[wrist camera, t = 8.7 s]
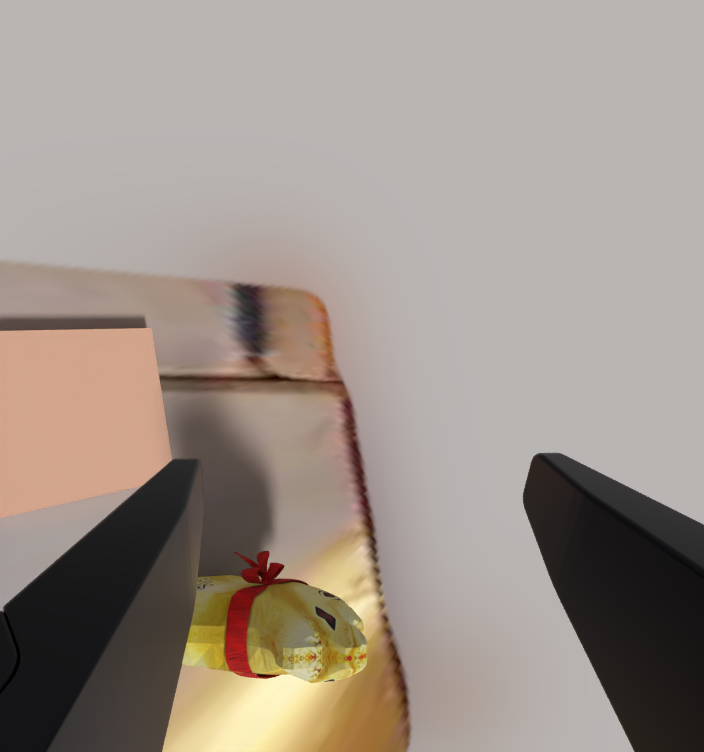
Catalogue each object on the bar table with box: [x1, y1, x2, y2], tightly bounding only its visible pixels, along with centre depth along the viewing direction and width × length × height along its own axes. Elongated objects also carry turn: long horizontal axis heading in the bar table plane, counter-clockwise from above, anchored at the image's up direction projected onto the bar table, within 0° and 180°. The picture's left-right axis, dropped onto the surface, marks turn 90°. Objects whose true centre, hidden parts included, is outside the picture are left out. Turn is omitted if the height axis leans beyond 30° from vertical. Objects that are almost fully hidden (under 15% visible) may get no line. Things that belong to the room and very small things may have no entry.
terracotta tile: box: [0, 328, 172, 518], centre depth 32 cm, size 10×10×1 cm
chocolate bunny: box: [182, 551, 367, 683], centre depth 31 cm, size 7×11×15 cm, turn 89°
